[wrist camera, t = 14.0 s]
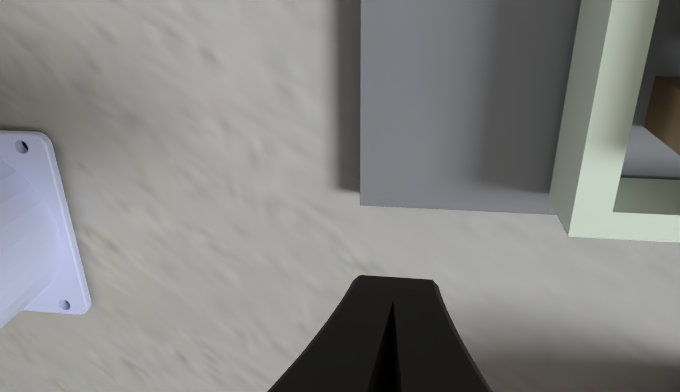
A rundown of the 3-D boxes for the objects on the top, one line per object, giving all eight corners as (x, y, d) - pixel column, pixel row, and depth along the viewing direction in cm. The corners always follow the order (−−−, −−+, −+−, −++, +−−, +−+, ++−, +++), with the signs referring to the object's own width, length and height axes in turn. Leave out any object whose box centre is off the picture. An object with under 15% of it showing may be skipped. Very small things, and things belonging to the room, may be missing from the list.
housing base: (362, 193, 19) (351, 241, 16) (365, -220, 14) (349, -269, 11) (861, 216, 17) (961, 275, 14) (1070, -259, 12) (1297, -331, 9)
